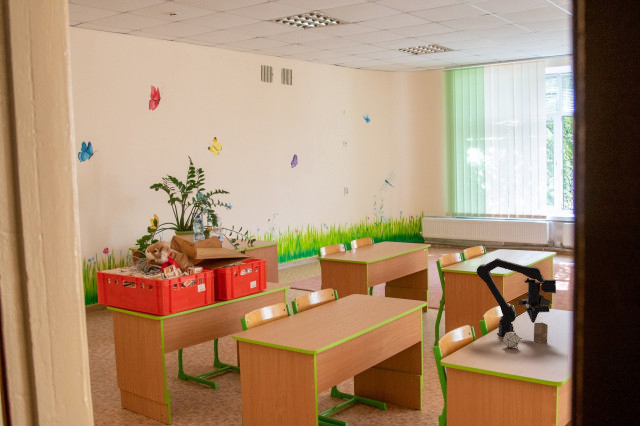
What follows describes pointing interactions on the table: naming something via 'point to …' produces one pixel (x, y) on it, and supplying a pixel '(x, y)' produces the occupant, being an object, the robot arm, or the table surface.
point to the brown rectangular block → (540, 332)
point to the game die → (511, 339)
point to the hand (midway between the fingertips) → (533, 322)
